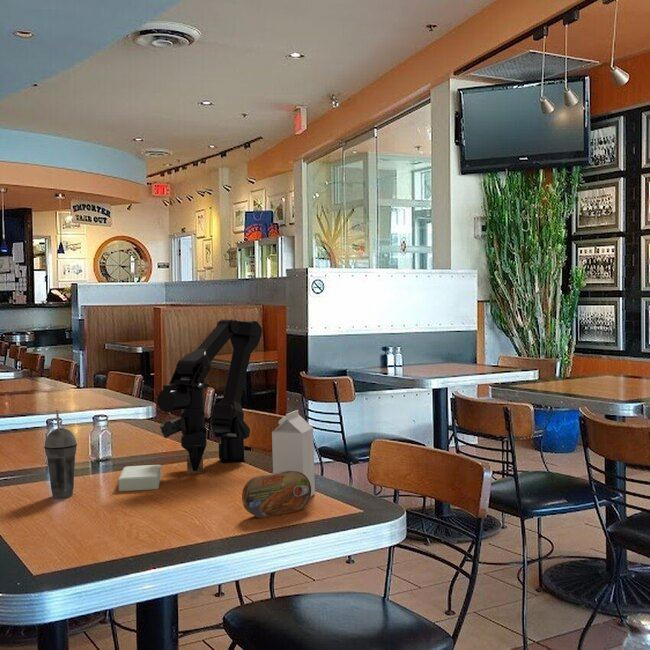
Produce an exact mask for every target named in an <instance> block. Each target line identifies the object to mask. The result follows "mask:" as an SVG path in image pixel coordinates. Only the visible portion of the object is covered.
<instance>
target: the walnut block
mask: <svg viewBox="0 0 650 650" xmlns="http://www.w3.org/2000/svg"><path fill="white" fill-rule="evenodd" d="M203 458H204V456H202V459H201V462H200V464H199V467H198V470H197V471H193V469H192V465H191V461H190V457H189V454H188V455H187V456H186V470H187V474H188V475H190V474H189V473H192V474H203V473H204V459H203Z"/></svg>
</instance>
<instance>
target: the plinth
mask: <svg viewBox="0 0 650 650" xmlns="http://www.w3.org/2000/svg"><path fill="white" fill-rule="evenodd" d="M161 479H162V465H161V464H148V465H147V464H146V465H130V466H128V465H127V466H125V467H123V469H122V471H121V473H120V476H119V478H118V479H117V481H118V492H129V491H130V492H131V491H133V492H134V491H145V490H147V491H148V490H159V488H160V482H161Z"/></svg>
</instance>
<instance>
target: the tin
mask: <svg viewBox="0 0 650 650" xmlns="http://www.w3.org/2000/svg"><path fill="white" fill-rule="evenodd" d="M241 493H242V494H241V502H242V505H243V507H244V510H245V511H247V512H248V513H249V514H250V515H252V516H254V517H256V518H259V519H266V518H270V517H276V516H280V515H286V514H292V513H296V512H299V511H301V510H303V509H304V508H305V507H307V504H308V503H309V501H310V499H311V497H312V496H311V484H310V482H309V479H308V478H307V477H306V476H305V475H304V474H303V473H301V472H298V471H285V472H279V473H273V472H272V473H269V474H267V473H266V474H263V475H256V476H253V477H251V478H250V479H249V480H248V481H247V482H246V483H245V485H244V486H243V489H242V492H241ZM310 496H311V497H310Z"/></svg>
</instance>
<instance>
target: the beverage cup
mask: <svg viewBox="0 0 650 650" xmlns="http://www.w3.org/2000/svg"><path fill="white" fill-rule="evenodd" d="M55 413H56V415H55V417H56V423H57V425H56V426H57V428H55V429H53V430H51V431H50V432H49V433H48V435H47V436H46V438H45V441H44V446H43V448H44V453H45V456H46V461H47V468H48V469H47V470H48V474H49V476H48V477H49V483H50V491H51V496H52V499H66V498H71V497H73V496H74V494H73V493H74V487H75V486H74V485H75V469H76V468H75V467H76V466H75V465H76V464H75V463H76V454H77V447H78V443H77V440H76V436H75V435H74V434H73V432H72V431H71V430H69V429H67V428H63V427H61V428H60V426H61V425H60V418H59V417H60V415H59V409H56V410H55Z"/></svg>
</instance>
